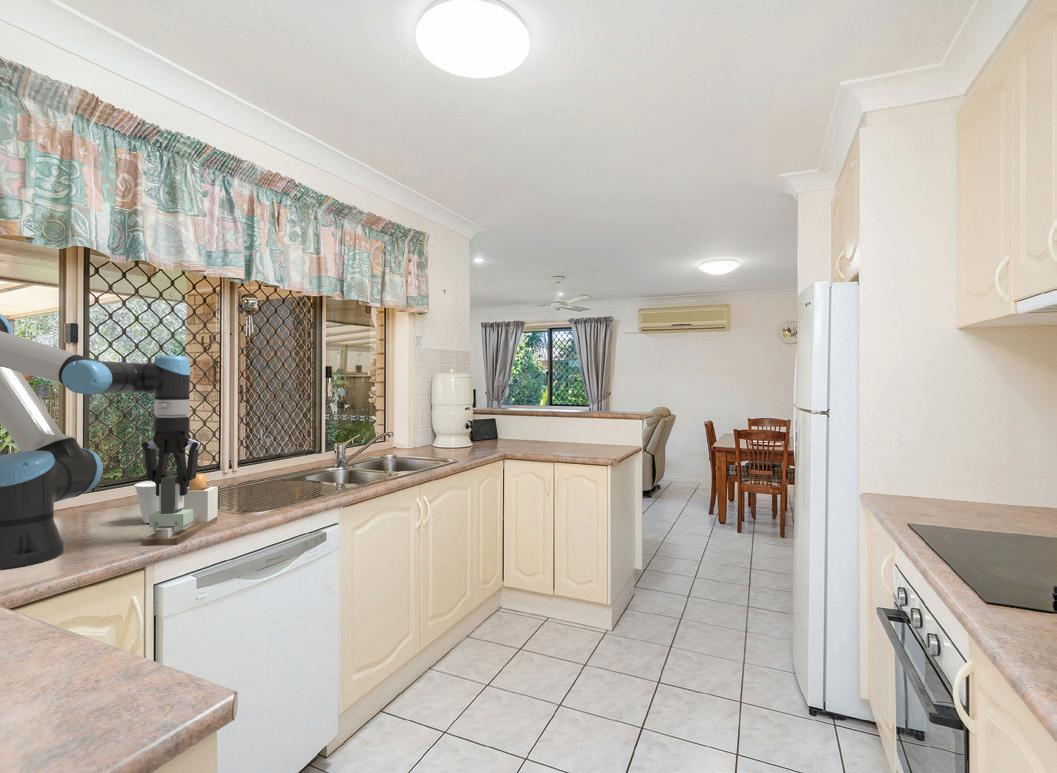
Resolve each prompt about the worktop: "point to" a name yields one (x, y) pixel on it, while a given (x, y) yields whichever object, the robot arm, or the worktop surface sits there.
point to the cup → (147, 499)
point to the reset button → (198, 483)
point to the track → (176, 533)
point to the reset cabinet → (202, 503)
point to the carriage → (170, 508)
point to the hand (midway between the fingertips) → (171, 508)
